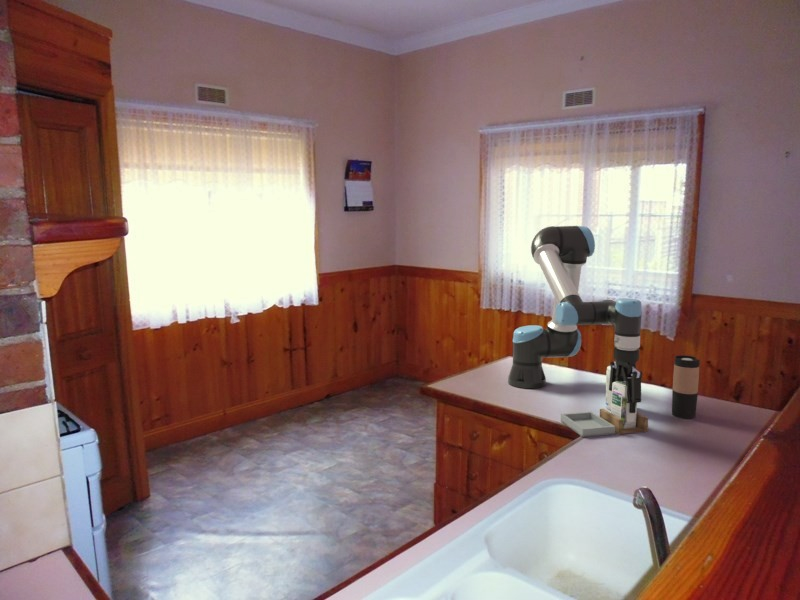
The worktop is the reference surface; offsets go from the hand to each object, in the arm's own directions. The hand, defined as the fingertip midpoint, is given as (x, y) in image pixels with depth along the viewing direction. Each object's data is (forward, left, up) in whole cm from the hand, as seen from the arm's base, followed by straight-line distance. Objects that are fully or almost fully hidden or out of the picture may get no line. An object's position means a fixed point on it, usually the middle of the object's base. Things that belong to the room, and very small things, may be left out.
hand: (623, 417), depth 178 cm
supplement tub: (-16, +9, -3) cm, 19 cm away
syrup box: (0, 0, -3) cm, 3 cm away
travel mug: (-5, +26, -3) cm, 27 cm away
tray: (-2, -12, -3) cm, 12 cm away
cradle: (0, 0, -3) cm, 3 cm away
